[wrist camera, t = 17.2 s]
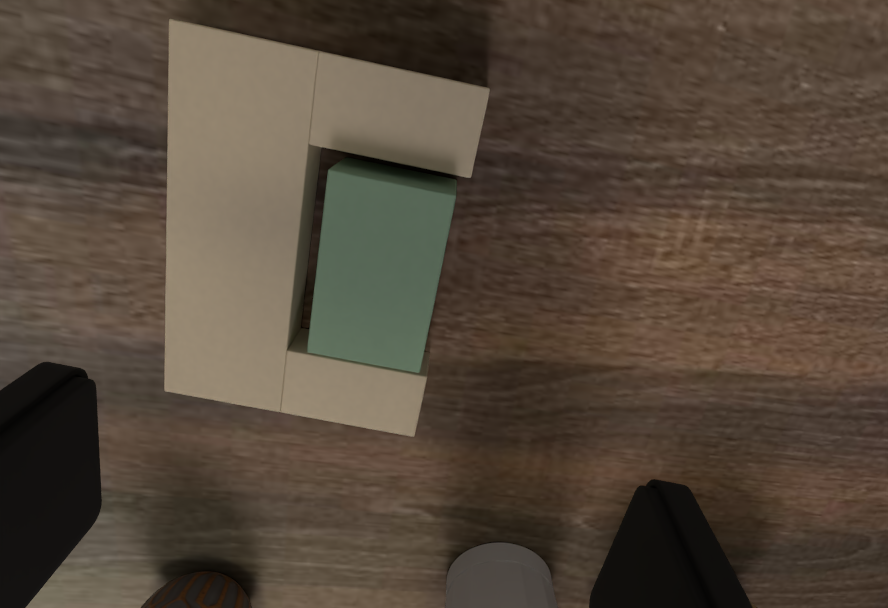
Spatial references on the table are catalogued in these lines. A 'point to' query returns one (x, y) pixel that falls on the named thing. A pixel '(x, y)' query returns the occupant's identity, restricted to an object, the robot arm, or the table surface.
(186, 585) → the vase
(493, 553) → the cup
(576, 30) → the table surface
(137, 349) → the table surface
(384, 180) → the green block
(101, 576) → the table surface
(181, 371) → the beige c-shaped block
